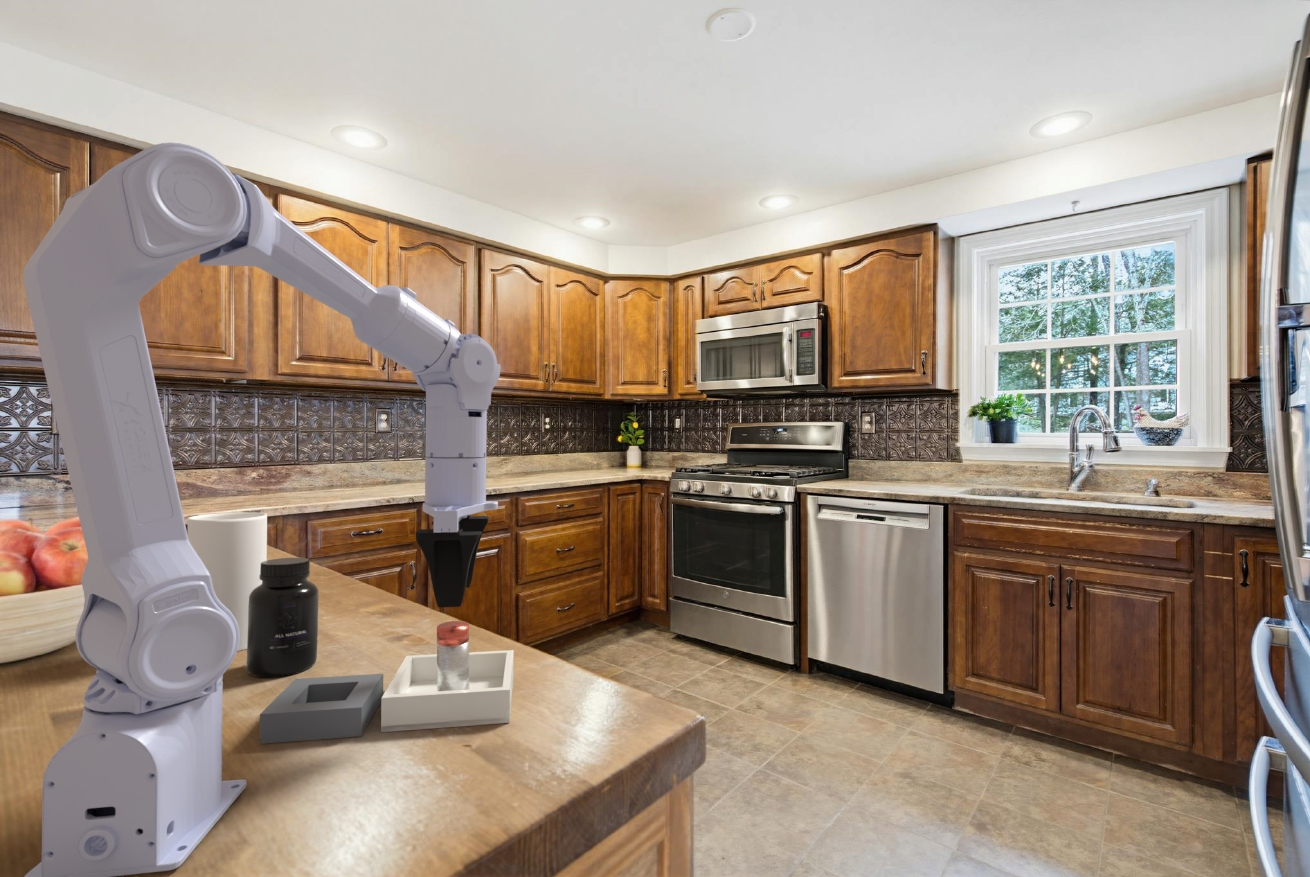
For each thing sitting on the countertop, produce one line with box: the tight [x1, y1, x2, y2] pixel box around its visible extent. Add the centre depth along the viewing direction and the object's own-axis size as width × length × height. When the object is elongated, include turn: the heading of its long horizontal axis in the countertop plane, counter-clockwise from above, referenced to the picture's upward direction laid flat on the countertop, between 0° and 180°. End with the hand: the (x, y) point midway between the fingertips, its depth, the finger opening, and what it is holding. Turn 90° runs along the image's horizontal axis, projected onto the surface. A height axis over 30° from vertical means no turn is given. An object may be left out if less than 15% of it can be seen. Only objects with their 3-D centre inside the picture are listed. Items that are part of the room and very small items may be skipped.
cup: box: [187, 511, 268, 652], centre depth 79 cm, size 8×8×16 cm
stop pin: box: [436, 620, 470, 691], centre depth 62 cm, size 3×3×7 cm
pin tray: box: [380, 649, 515, 733], centre depth 62 cm, size 11×11×3 cm
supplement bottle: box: [246, 557, 319, 678], centre depth 71 cm, size 7×7×12 cm
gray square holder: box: [259, 673, 384, 745], centre depth 58 cm, size 8×8×2 cm
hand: (454, 596), depth 62 cm, fingers open, 7 cm apart
